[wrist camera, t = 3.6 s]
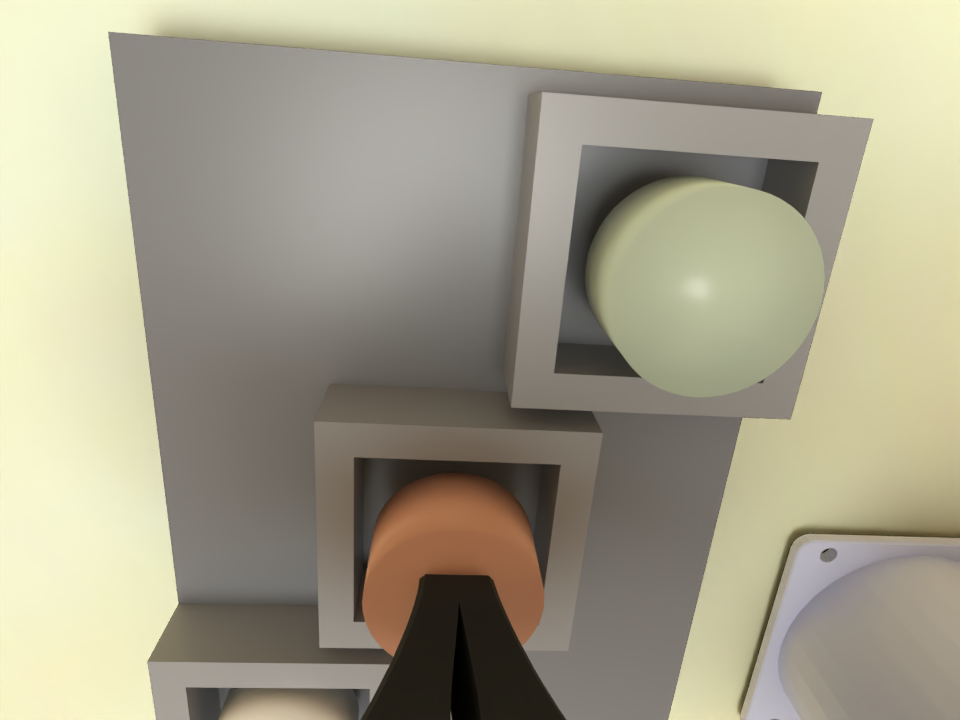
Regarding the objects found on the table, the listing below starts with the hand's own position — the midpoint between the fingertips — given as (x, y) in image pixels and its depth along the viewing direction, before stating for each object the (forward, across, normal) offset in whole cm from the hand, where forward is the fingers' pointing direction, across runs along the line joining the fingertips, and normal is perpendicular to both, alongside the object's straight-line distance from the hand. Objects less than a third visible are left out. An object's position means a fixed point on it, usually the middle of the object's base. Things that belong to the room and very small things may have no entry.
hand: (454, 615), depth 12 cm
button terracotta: (+2, 0, 0) cm, 2 cm away
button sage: (+2, -4, -6) cm, 8 cm away
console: (+6, 0, 0) cm, 6 cm away
